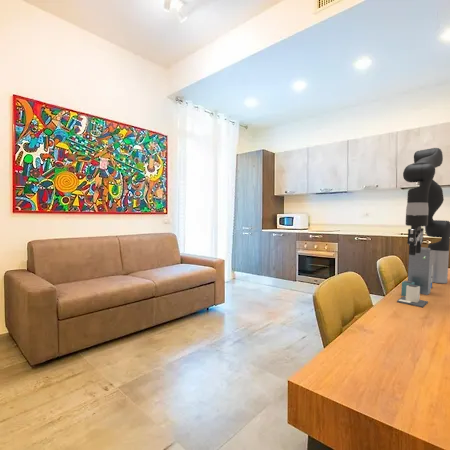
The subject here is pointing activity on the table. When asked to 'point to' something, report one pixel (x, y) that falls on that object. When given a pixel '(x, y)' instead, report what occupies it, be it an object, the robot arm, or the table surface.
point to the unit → (421, 270)
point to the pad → (419, 304)
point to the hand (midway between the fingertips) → (414, 253)
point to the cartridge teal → (404, 284)
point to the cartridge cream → (413, 293)
